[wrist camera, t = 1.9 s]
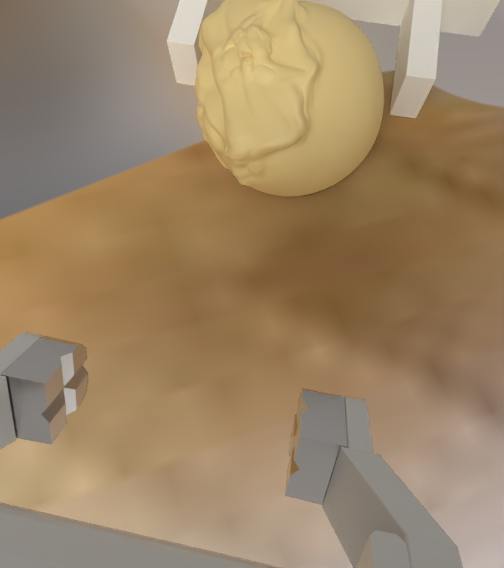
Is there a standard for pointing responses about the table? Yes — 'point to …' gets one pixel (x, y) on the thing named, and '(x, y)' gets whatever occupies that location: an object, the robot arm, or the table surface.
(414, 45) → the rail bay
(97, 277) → the table surface
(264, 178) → the sculpture
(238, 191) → the table surface
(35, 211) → the table surface
